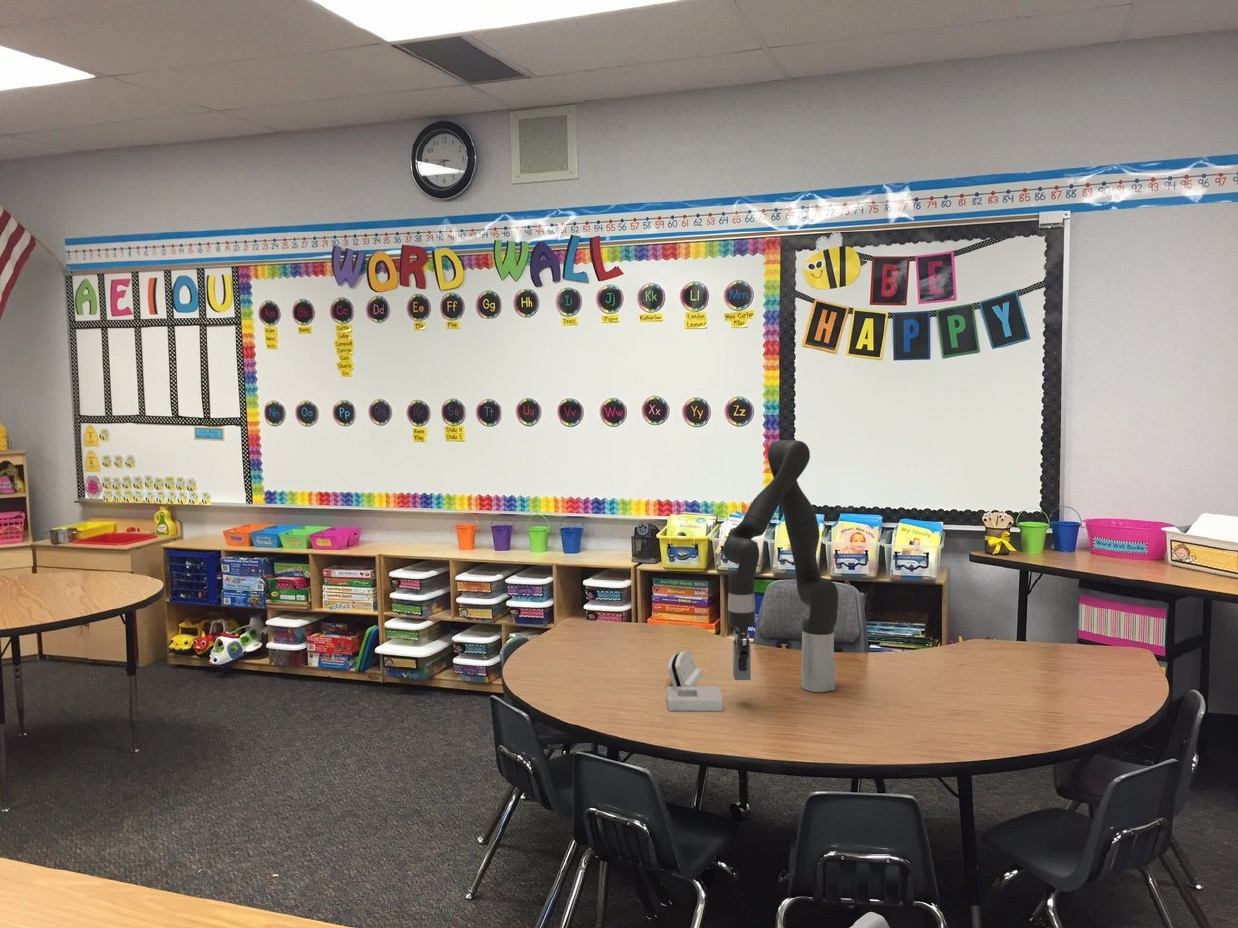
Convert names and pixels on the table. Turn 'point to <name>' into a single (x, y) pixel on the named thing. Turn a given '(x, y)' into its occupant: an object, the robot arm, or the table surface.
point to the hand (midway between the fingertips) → (741, 667)
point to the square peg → (736, 672)
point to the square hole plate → (694, 699)
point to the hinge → (683, 670)
